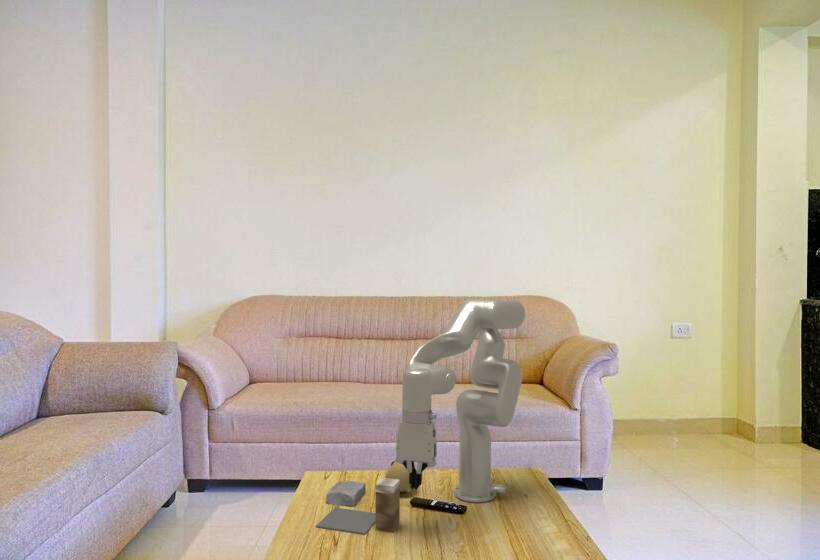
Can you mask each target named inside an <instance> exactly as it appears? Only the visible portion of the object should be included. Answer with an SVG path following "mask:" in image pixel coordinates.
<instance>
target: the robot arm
mask: <svg viewBox="0 0 820 560" xmlns="http://www.w3.org/2000/svg"><path fill="white" fill-rule="evenodd" d="M525 318H526V310H525V307H524V305H523V304H522V303H521V302H520V301H518V300H512V299H511V300H510V299H509V300H508V299H491V298H490V299H489V298H488V299H487V298H468V299H466V300H464V301H463V302H462V303H461V304H460V305H459V307H458V309H457V311H455V313H454V315H453V317H452V319H451V320H450V322H449V324H448V325H447V326H446V328H445V330H444V331H443V332H441V334H438V335H437V336H435V337H433V338H432V339H430V340H428V341H427V342H425V343H424V344H422V346H421V345H420V347H419V348H417V350H416V351H415V353H414V354H413V356H412V357H411V359H410V360H409V362H408V364H407V366H406V367H405V370H403V372H402V387H401V388H402V390H401V391H402V397H401V398H402V400H401V401H402V402H401V404H402V405H401V409H402V410H401V419H400V420H399V423H398V427H397V433H396V441H395V442H396V444H395V461H396V462H397V463H399V464H403V465H404V466H405V468H406V469H407V470H408V472H409V484H411V489H412V490H413V489H414V490H418V488H420V486H421V485H422V483H423V472H424V471H425V470H426V469H428V468H435V466H436V465H437V459H436V458H437V454H438V448H437V447H438V445H437V444H438V443H437V433H436V432H437V431H436V430H437V429H436V425H435V421H433V420H436V419H437V413H434V412H433V410H432V396H433V395H434V396H435V395H446V394H448V393H450V392H451V391H452V390H454V388H455V387H456V383H457V376H456V373H455V371H454V370H453V369H452V368H450V367H448V366H446V365H442V364H441V365H440V364H435V363H436V362H438V361H440V360H443V359H445V358H449V357H452V356H453V357H454V356H456V355H459V354H462V353H463V354H464V353H465V352H466V351H468V350H469V349H470V348H471V346H472V344H473V343H474V340H475V339H476V337H477V338H478V339H477V345H476V349H475V352H474V357H473V361H472V364H471V368H470V373H469V380H470V382H471V383H472V384H473V385H474V386H477V387H479V388H484V389H488V390H491V389H492V390H497V391H498V392H493V391H492V392H491V391H485V390H480V389H472V388H471V389H465V390H463V391H461V392H460V393H459V395H458V396H457V398H456V402H455V408H456V415H457V419H458V429H459V430H458V431H459V447H458V448H459V451H458V452H459V455H458V456H459V457H458V459H459V463H458V464H459V465H458V466H459V467H458V469H459V471H458V474H459V475H458V476H459V477H458V483H459V484H458V485H456V486H455V488H454V489H453V490H454V491H453V493H454V496H455V497H456V498H457V499H459V500H461V501H465V502H470V503H487V502H490V501H492V500H494V499H495V498H497V497H496V496H497V493H498V494H502V495H503V494H506V491H507V490H506V489H507V487H506V486H504V485H503V484H502V483H496V482H494V478H493V477H492V435H491V431H490V430H489V427H488V426H492V427H498V428H505V427H508V426H509V425H511V423H512V421H513V418H514V415H515V412H516V407H517V403H518V400H519V399H518V398H519V395H520V391H521V386H522V382H523V371H522V367H521V365H520V364H519V362H518V361H516V360H514V359H510V358H503V357H504V353H505V349H506V344H505V343H506V341H505V340H504V337H503V335H502V334H501V332H500V330H515V329H518V328H519V327H521V326H522V325H523V323H524V321H525ZM415 463H417V465H415Z"/></svg>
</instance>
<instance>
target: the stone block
mask: <svg viewBox="0 0 820 560" xmlns="http://www.w3.org/2000/svg"><path fill="white" fill-rule="evenodd" d="M365 493H366V483H365V482H360V481H356V480H349V479H348V480H345V481H341V482H337V483H335V485H333V486H331V488H330V489H329V491H327V493H326V495H325V499H326V503H327V504H328V505H330V504H331V506H337V507H341V506H344V507H355V506H356V505H357V504H358V503H357V502H360V500H361V498H362V497H363V496H364V494H365Z"/></svg>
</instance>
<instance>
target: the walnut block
mask: <svg viewBox="0 0 820 560" xmlns="http://www.w3.org/2000/svg"><path fill="white" fill-rule="evenodd" d="M374 487H375V489H374V491H375V497H374V498H375V500H374V501H375V502H374V503H375V509H374V510H375V512H374V513H375V526H374V527H375V529H374V530H375V531H379V532H380V531H381V532H388V533H394V532H396V530H397V528H398V527H399V525H400V520H401V519H400V513H401V512H400V511H401V509H400V505H401V503H400V502H401V501H400V500H401V499H400V496H401V495H400V494H401V492H400V480H398V479H390V478H385V477H381V478H380V479H379V480H378V481H377V482H376V483H375V485H374Z"/></svg>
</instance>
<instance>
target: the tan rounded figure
mask: <svg viewBox="0 0 820 560" xmlns="http://www.w3.org/2000/svg"><path fill="white" fill-rule="evenodd" d="M384 478H390V479H398V480H400V493H402V492H407V493H411V492H412V491H413V489H411V484H409V472H408V470H407V469H406V468H405V466H404V465H403V464H399V463H397V462H396V460H393V461H391V463H390V467H389V468H388V470H387V472H386V474H385V476H384Z"/></svg>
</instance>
